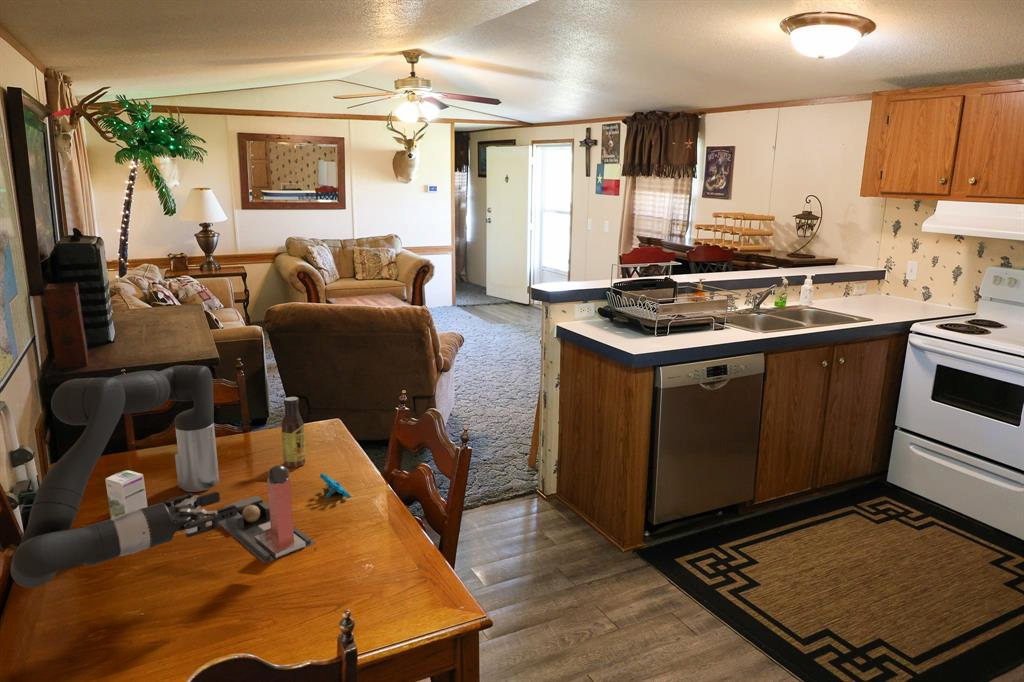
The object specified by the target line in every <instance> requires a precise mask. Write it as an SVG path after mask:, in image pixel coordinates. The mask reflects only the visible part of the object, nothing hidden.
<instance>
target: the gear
mask: <svg viewBox="0 0 1024 682" xmlns="http://www.w3.org/2000/svg"><path fill="white" fill-rule="evenodd" d="M319 477H320V479H322V480H323V482H324V483H326V484H325V488H324V490H328V492H327V494H325V496H324V497H325V498H330V497H331V496H332V495H334V494H335V493H336V492H337V493H339V494H342V496H343V497H345V498H347V499H348V498H351V497H352V495H351V494H350V493H348V491H347V490H346V489H345V488H344V487H343V486H342V485H341V483H340V482H338V481H336V480H334V479H333V478H332V477H331V476H328V475H326V474H324V473H323V472H321V473H320V475H319Z"/></svg>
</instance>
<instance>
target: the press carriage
mask: <svg viewBox="0 0 1024 682" xmlns="http://www.w3.org/2000/svg"><path fill="white" fill-rule="evenodd" d="M266 481H267V495H268V504H269V511H270V522H267V523H264V524H262V525H259V526H258V530H259V535H257V536H255V541H256V542H257V543H258V544H260V545H261V546H262V547H263V548H264V549H265V550H267V551H268V552H269V553H270V554H271V555H273V556H274V557H275V558H277V557H280V556H282V555H285V554H287V553H290V552H293V551H295V550H298V549H300V548H303V547H305V546H306V543H305V541H303V540H302V539H301V538H299V537H298V536H297V535H295V534H294V531H293V526H294V519H293V506H292V505H293V504H292V503H293V501H292V491H291V489H292V488H291V479H290V472H289V470H288V467H286V466H285V465H282V464H276V465H274V466H271V468H270V469H269V470H268V472H267V479H266ZM305 548H306V547H305ZM303 549H304V548H303ZM300 550H301V549H300ZM298 551H299V550H298ZM295 552H296V551H295ZM293 553H294V552H293ZM290 554H291V553H290ZM285 556H286V555H285ZM280 558H281V557H280Z"/></svg>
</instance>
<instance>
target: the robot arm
mask: <svg viewBox="0 0 1024 682" xmlns="http://www.w3.org/2000/svg"><path fill="white" fill-rule="evenodd" d="M168 401H173V402H174V401H176V402H177V401H178V402H193V408H190V409H187V410H184V411H182V412H179V413H178V414H176V416H175V417H174V427H175V436H176V444H177V446H176V447H177V452H176V453H175V455H174V460H175V471H176V478H177V487H178V488H179V489H182V490H183V491H185V492H189V493H185V494H182V495H180V496H177V497H173V498H170V499H167V500H163V501H161V502H159V503H156V504H153V505H150V506H147V507H145V508H142V509H138V510H135V511H132V512H128V513H125V514H122V515H119V516H117V517H115V518H112V519H111V518H109V519H106V520H102V521H98V522H95V523H92V524H90V525H87V526H84V527H81V528H79V527H78V528H72V525H73V524H74V522H75V521H76V520H75V519H76V517H77V515H78V512H79V508H80V506H81V502H82V500H83V497H84V493H85V490H86V487H87V485H88V482H89V480H90V478H91V475H92V472H93V471H94V470H95V469H94V468H95V466H96V465H97V462H98V461H99V460H100V457H101V456H102V453H104V450H105V448H106V446H107V445H108V442H109V441H110V439H111V437H112V434H113V433H114V431H115V428H116V426H117V425H118V423H119V421H120V419H121V417H122V415H123V414H136V413H143V412H147V411H151V410H155V409H159V408H160V407H162V406H163V405H164V404H166V403H167V402H168ZM50 402H51V403H50V408H51V410H52V413H53V414H54V417H55V418H56V419H58V420H59V421H60V422H62V423H64V424H66V425H71V426H86V427H85V429H84V430H83V432H82V434H81V435H80V437H79V438H78V439H77V440H76V441H75V443H74V444H73V445H72V446H71V447H70V448H69V449H68V450H67V451H66V452H65V453H64V454H63V456H61V457H60V458H59V459H58V460H57V461H56V462H55V463H54V464H53V465H52V466H51V468H49V470H48V471H47V472H46V473H45V475H44V477H43V479H42V481H41V482H40V485H38V490H37V492H36V494H35V497H34V501H33V502H32V505H31V510H30V512H29V516H28V522H27V526H26V529H25V531H24V533H23V536H22V538H21V541H20V543H19V545H18V547H17V548H16V549H15V550H14V553H13V556H12V559H11V563H10V575H11V578H12V580H13V581H14V582H15V584H17V585H19V586H20V587H24V588H29V589H31V588H32V589H33V588H37V587H40V586H43V585H45V584H47V583H49V582H50V580H52V579H53V578H54V577H55V576H56V574H57V573H58V572H61V571H63V570H67V569H70V568H73V567H76V566H80V565H83V566H84V565H85V566H93V565H97V564H100V563H104V562H107V561H110V560H112V559H113V560H114V559H116V558H118V557H123V556H126V555H132V554H136V553H138V552H141V551H144V550H147V549H151V548H155V547H157V546H160V545H163V544H165V543H168V542H171V541H172V540H173V538H174V536H175V534H176V533H177V532H184V531H185V537H186V538H191V537H194V536H197V535H200V534H201V535H202V534H205V533H208V532H211V531H214V530H218V529H219V528H220V524H219V521H222V520H225V519H228V518H231V517H234V516H236V515H237V507H236V506H235V505H231V506H228V507H225V506H224V507H222V508H219V509H215V510H206V509H205V508H203V507H207V506H210V505H214V504H216V503H219V502H220V500H221V497H220V492H219V491H216V490H215V491H212V492H209V493H206V494H202V495H197V494H196V495H193V493H199V492H205V491H207V490H211V489H212V488H213V487H215V486H216V485H217V484H219V483H220V478H219V477H220V476H219V463H218V456H217V455H218V453H217V443H216V435H215V434H216V432H215V423H214V420H215V419H214V412H215V411H214V410H215V408H214V407H215V406H214V405H215V404H214V380H213V374H212V372H211V370H210V368H209V367H208V366H205V365H174V366H170V367H167V368H165V369H161V370H159V371H157V370H153V369H152V370H141V371H140V370H139V371H134V372H132V371H131V372H128V373H123V374H120V375H119V374H118V375H114V376H111V377H85V378H74V379H69V380H67V381H64V382H63V383H60V385H59V386H58V387H57V388H56V389H55V390H54V392H53V393H52V397H51V401H50ZM200 507H201V508H200ZM71 528H72V529H71Z"/></svg>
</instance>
